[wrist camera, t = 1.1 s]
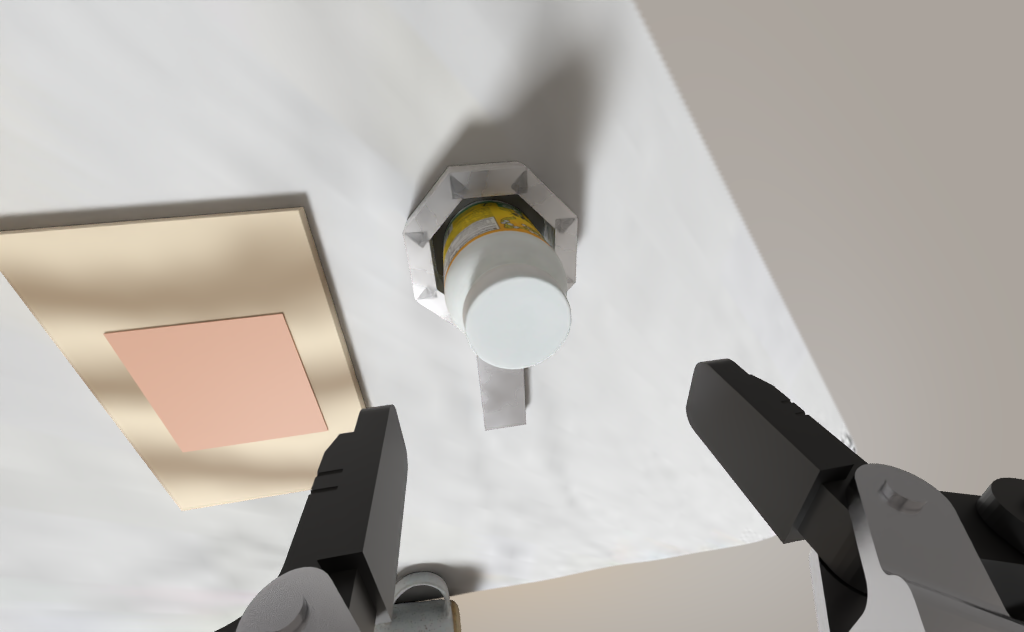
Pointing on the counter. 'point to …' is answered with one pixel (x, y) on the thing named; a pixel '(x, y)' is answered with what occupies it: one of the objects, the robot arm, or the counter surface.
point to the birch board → (199, 343)
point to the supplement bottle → (504, 286)
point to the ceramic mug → (423, 608)
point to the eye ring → (455, 184)
